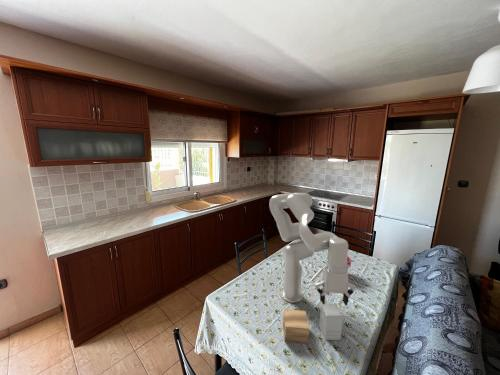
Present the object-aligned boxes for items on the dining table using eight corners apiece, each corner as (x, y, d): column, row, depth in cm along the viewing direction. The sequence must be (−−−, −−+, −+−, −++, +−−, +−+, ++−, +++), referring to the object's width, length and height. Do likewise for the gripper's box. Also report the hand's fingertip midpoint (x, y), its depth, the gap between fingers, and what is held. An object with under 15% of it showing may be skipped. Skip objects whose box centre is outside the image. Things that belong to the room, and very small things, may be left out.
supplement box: (333, 326, 99) (336, 303, 97) (341, 340, 92) (343, 315, 90) (318, 326, 99) (320, 303, 97) (324, 340, 92) (327, 315, 89)
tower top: (283, 316, 100) (284, 309, 99) (304, 318, 99) (305, 310, 98) (285, 334, 90) (285, 326, 89) (308, 336, 89) (309, 328, 89)
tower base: (282, 323, 101) (283, 316, 100) (303, 325, 100) (304, 318, 99) (284, 342, 91) (285, 334, 90) (307, 344, 90) (308, 336, 89)
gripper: (353, 263, 92) (350, 297, 95) (314, 261, 93) (311, 296, 96) (361, 272, 85) (357, 309, 88) (318, 271, 86) (316, 307, 89)
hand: (333, 302), depth 92 cm, fingers open, 9 cm apart
